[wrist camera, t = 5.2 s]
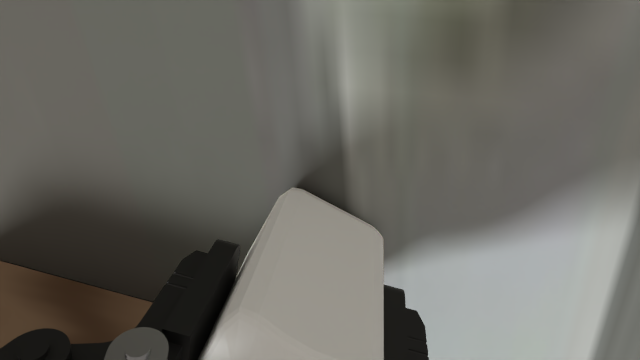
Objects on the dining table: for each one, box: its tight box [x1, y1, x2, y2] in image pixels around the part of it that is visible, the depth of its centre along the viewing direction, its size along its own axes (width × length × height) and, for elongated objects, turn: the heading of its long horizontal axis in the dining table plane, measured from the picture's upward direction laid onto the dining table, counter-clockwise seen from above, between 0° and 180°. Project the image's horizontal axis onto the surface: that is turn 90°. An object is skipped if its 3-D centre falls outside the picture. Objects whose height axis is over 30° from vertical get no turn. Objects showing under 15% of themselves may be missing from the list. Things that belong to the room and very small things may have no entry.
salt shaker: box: [198, 187, 384, 360], centre depth 10 cm, size 4×4×10 cm
